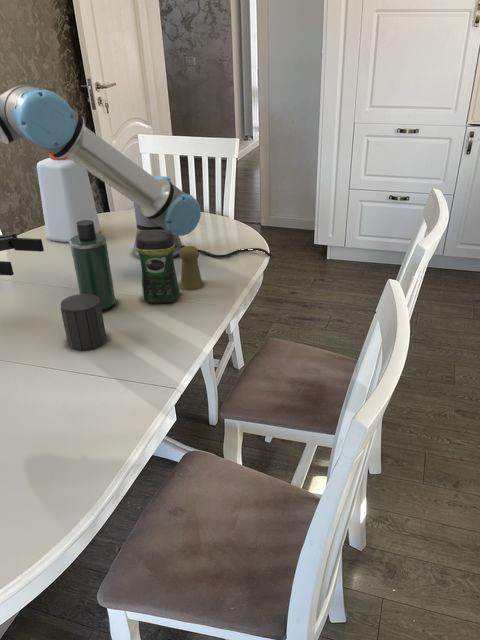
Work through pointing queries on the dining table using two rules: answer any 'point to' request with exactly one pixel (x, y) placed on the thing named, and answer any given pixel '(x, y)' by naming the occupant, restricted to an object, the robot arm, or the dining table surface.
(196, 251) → the olive pawn figure
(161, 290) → the coffee jar
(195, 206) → the robot arm
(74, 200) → the plastic bottle
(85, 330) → the grey lidded canister
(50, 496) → the dining table surface
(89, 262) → the flask
